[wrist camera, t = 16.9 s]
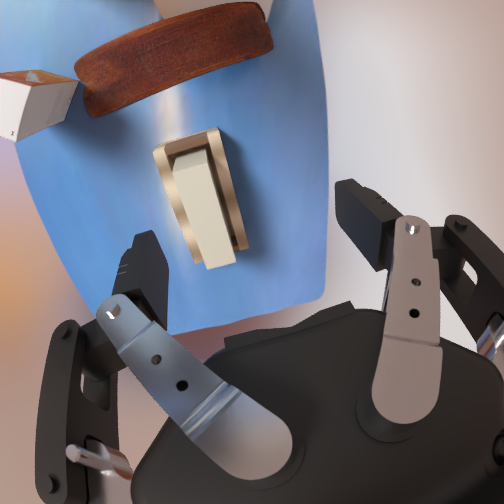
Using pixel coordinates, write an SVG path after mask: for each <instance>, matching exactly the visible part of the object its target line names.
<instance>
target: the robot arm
mask: <svg viewBox="0 0 504 504" xmlns="http://www.w3.org/2000/svg"><path fill="white" fill-rule="evenodd" d="M335 206H336V207H335V210H336V218H337V221H338V224H339V225H340V227H341V228H342V229H343V230H344V232H345V233H346V234H347V235H348V237H349V238H350V239H351V240H352V242H353V243H354V244H355V245H356V247H357V248H358V249H359V250H360V252H361V253H362V254H363V256H364V257H365V258H366V259H367V261H368V262H369V263H370V265H371V266H372V267H373V268H374V270H375V271H376V272H378V271H380V270H383V269H387V270H388V273H387V279H386V287H385V292H384V299H383V305H382V310H381V311H378V310H373V309H355V308H354V306H353V305H352V303H351V302H350V301H347V302H344V303H341V304H338V305H335V306H332V307H329V308H327V309H324V310H321V311H319V312H317V313H315V314H314V315H312V316H310V317H309V318H307V319H305V320H303V321H302V322H300V323H298V324H296V325H294V326H292V327H287V328H273V329H259V330H258V329H257V330H252V331H249V332H245V333H241V334H237V335H233V336H229V337H225V338H224V342H225V348H224V349H221V350H220V351H218V352H216V353H215V354H213V355H212V356H211V357H210V358H208V359H207V360H206V361H205V362H204V363H201V362H200V361H199V360H198V359H197V358H195V357H194V356H193V355H192V354H191V353H190V352H188V351H187V350H186V349H185V348H184V347H183V346H181V345H180V344H179V343H178V342H177V341H176V340H175V339H174V338H173V337H171V336H170V335H169V334H168V333H167V332H166V331H167V308H168V281H169V268H168V263H167V260H166V258H165V255H164V253H163V251H162V249H161V247H160V245H159V242H158V240H157V238H156V236H155V234H154V232H153V231H152V230H149V231H146V232H143V233H140V234H137V235H135V237H134V240H133V244H132V248H130V249H127V251H126V252H125V253H124V255H123V256H122V258H121V261H120V264H119V268H118V272H117V275H116V279H115V283H114V287H113V292H112V296H110V297H109V298H107V299H106V300H104V301H103V302H102V303H101V305H100V306H99V307H98V309H97V312H96V319H94V320H93V321H91V322H89V323H87V324H85V325H83V326H79V324H78V323H77V322H76V321H75V320H66V321H64V322H62V323H61V324H60V325H59V326H58V327H57V328H56V329H55V331H54V332H53V334H52V337H51V341H50V346H49V350H48V354H47V359H46V364H45V369H44V374H43V380H42V386H41V392H40V399H39V408H38V417H37V428H36V442H35V485H36V489H37V492H38V494H39V496H40V498H41V499H42V500H43V502H44V503H46V504H504V253H503V252H502V251H501V250H500V249H499V248H498V247H497V246H496V245H495V244H494V243H493V242H492V241H491V240H490V239H489V238H488V237H487V236H486V235H485V234H484V233H483V232H482V231H481V230H480V229H479V228H478V227H477V226H476V225H475V224H474V223H472V222H471V221H470V220H469V219H467V218H466V217H463V216H460V215H449V216H448V217H447V218H446V220H445V224H444V227H430V226H429V225H428V223H427V222H426V221H425V220H423V219H421V218H419V217H416V216H410V215H409V216H408V215H407V216H403V215H402V214H401V213H400V212H399V211H398V210H397V209H396V208H394V207H393V206H392V205H391V204H390V203H389V202H388V203H387V201H386V200H385V199H384V198H382V196H380V195H379V194H378V193H377V192H375V191H374V190H371V189H369V188H366V187H362V186H361V185H360V184H359V183H357V182H356V181H355V180H354V179H347V180H342V181H338V182H336V183H335ZM465 261H467V262H468V263H469V264H470V265H471V266H472V267H473V269H474V270H475V271H476V274H477V278H478V280H477V284H476V285H475V284H474V282H473V281H472V280H471V279H470V278H469V276H468V275H467V274H466V273H465V271H464V270H463V267H464V264H465ZM440 290H441V291H442V292H443V294H444V295H445V297H446V298H447V300H448V301H449V302H450V304H451V305H452V307H453V308H454V310H455V311H456V313H457V314H458V315H459V317H460V318H461V320H462V322H463V323H464V324H465V326H466V328H467V329H468V331H469V332H470V334H471V335H472V337H473V339H474V340H475V342H476V344H477V353H476V352H474V351H471V350H469V349H467V348H465V347H462V346H460V345H458V344H456V343H453V342H451V341H449V340H446V339H444V338H442V337H440ZM126 367H128V368H129V369H130V371H131V372H132V373H133V375H135V377H136V378H137V380H138V381H139V382H140V383H141V384H142V386H143V387H144V388H145V389H146V390H147V392H148V393H149V394H150V395H151V396H152V397H153V399H154V400H155V401H156V402H157V403H158V404H159V405H160V406H161V408H163V410H164V411H165V412H166V413H167V414H168V415H169V417H168V419H167V420H166V422H165V423H164V425H163V426H162V428H161V430H160V431H159V433H158V434H157V436H156V438H155V439H154V441H153V442H152V444H151V446H150V447H149V449H148V450H147V452H146V453H145V455H144V457H143V458H142V459H141V461H140V463H139V464H138V466H137V467H136V469H135V471H134V473H133V470H132V468H131V467H130V464H129V462H128V459H127V458H126V456H125V455H124V454H123V453H121V452H120V451H119V437H118V412H117V411H118V410H117V383H118V381H117V380H118V371H120V370H122V369H124V368H126ZM81 374H83V375H84V386H83V393H82V391H81V386H80V384H81Z"/></svg>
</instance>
